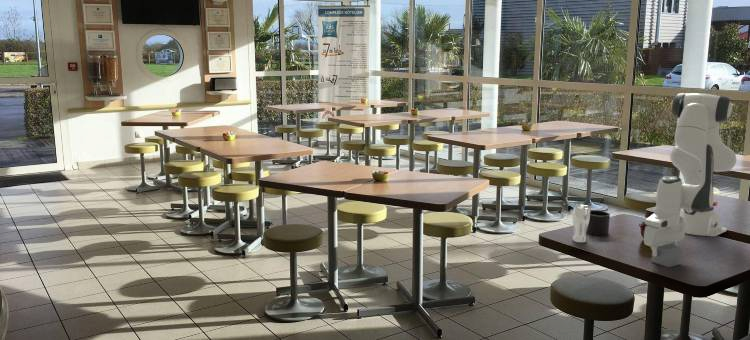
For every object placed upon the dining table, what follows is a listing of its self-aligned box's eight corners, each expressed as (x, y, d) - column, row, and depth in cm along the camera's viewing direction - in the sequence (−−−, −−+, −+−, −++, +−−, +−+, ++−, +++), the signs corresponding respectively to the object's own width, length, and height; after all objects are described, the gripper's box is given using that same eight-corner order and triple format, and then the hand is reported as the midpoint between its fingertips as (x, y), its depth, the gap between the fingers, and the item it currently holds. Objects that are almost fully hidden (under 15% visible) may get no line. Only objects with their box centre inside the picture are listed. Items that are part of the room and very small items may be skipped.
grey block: (663, 258, 249) (665, 242, 248) (680, 264, 243) (682, 247, 241) (651, 261, 245) (653, 245, 244) (668, 267, 239) (670, 250, 238)
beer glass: (589, 243, 267) (591, 209, 264) (571, 242, 268) (574, 208, 266) (587, 239, 274) (589, 205, 271) (570, 237, 275) (572, 204, 272)
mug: (611, 230, 287) (612, 211, 285) (606, 237, 276) (607, 217, 275) (589, 227, 291) (591, 208, 289) (583, 234, 281) (585, 214, 279)
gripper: (676, 213, 250) (672, 247, 252) (642, 220, 240) (638, 255, 242) (691, 217, 245) (687, 252, 247) (657, 224, 234) (653, 260, 237)
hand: (663, 254), depth 245 cm, fingers open, 8 cm apart
